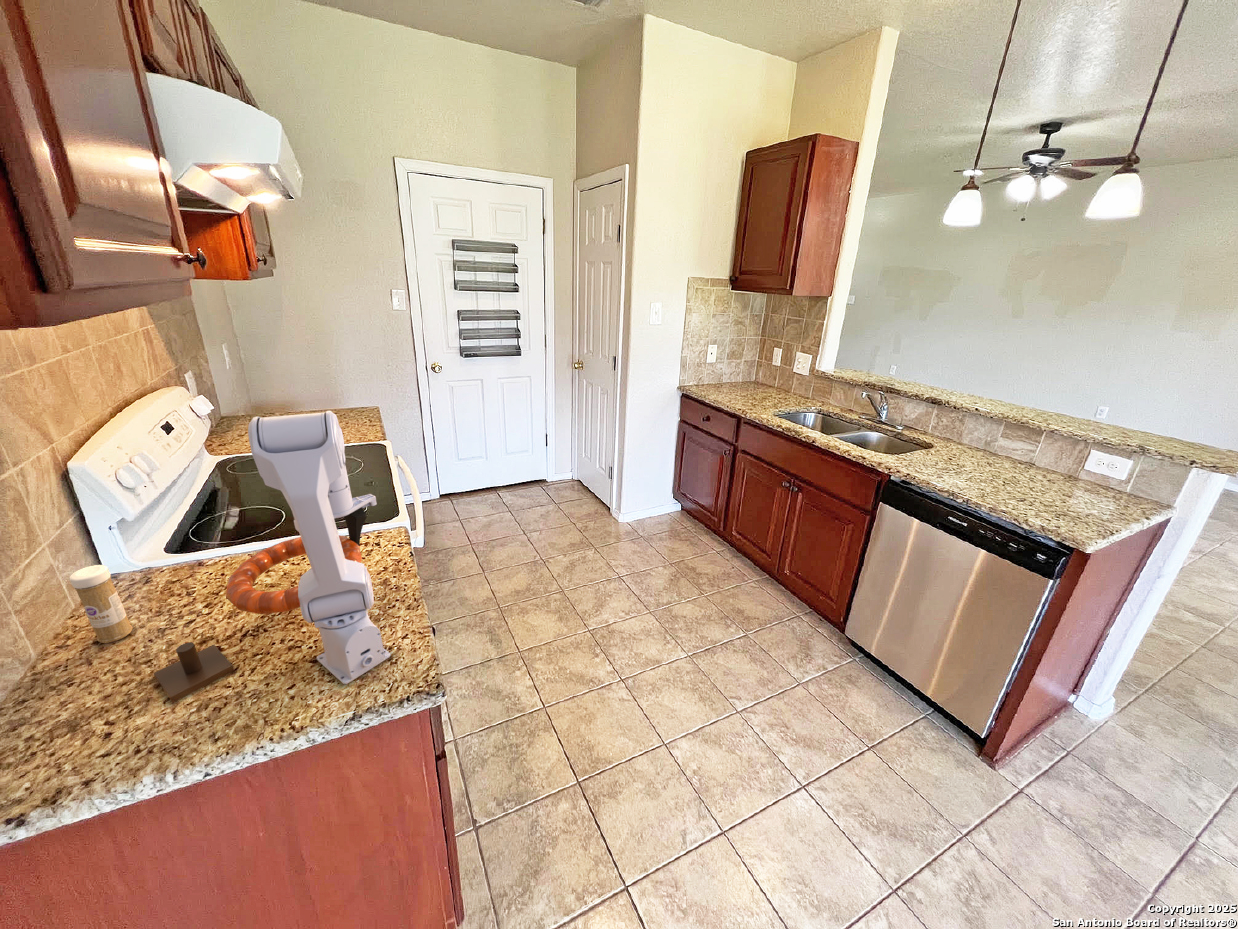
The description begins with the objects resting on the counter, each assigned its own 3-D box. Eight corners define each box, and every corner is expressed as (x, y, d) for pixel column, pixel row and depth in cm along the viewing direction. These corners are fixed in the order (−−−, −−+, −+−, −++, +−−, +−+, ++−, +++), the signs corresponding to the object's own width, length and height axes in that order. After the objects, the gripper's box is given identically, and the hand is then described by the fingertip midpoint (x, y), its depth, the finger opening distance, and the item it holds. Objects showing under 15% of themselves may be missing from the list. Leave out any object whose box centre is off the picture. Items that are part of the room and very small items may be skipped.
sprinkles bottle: (91, 646, 84) (60, 581, 79) (108, 629, 88) (79, 565, 83) (124, 641, 86) (96, 576, 81) (139, 624, 90) (113, 562, 85)
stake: (234, 671, 80) (225, 643, 78) (172, 703, 74) (160, 674, 72) (215, 649, 84) (206, 623, 82) (155, 678, 78) (143, 650, 76)
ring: (385, 568, 94) (381, 553, 92) (261, 636, 78) (254, 619, 76) (329, 534, 105) (324, 520, 103) (211, 587, 89) (204, 571, 87)
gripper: (358, 470, 100) (369, 528, 105) (280, 494, 89) (296, 558, 94) (377, 478, 96) (388, 538, 101) (298, 505, 85) (314, 571, 90)
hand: (345, 549), depth 97 cm, fingers closed on ring, 3 cm apart
